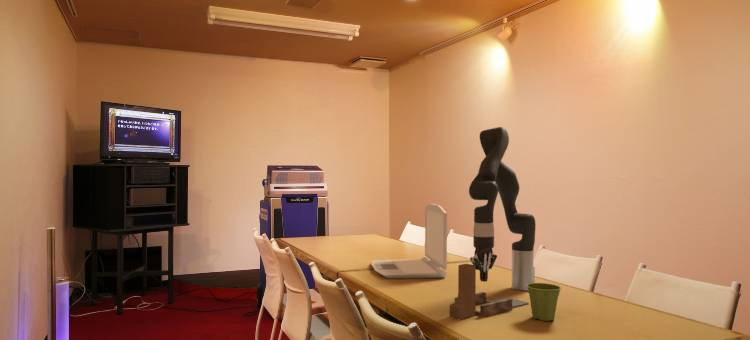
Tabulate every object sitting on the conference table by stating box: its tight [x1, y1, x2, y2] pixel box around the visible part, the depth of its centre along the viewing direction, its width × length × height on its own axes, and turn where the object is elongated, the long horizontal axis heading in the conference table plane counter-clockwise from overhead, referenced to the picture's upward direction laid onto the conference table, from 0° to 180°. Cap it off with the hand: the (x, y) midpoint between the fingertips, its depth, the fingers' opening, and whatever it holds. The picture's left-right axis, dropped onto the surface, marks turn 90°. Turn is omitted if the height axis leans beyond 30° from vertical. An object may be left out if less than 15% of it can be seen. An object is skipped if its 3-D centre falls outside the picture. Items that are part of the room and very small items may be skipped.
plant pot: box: [526, 282, 562, 322], centre depth 174 cm, size 12×12×11 cm
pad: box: [489, 296, 530, 309], centre depth 194 cm, size 10×11×1 cm
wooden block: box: [449, 263, 477, 320], centre depth 175 cm, size 9×4×18 cm, turn 128°
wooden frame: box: [454, 291, 513, 318], centre depth 185 cm, size 16×14×4 cm
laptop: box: [371, 203, 448, 279], centre depth 256 cm, size 42×33×35 cm
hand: (483, 281), depth 185 cm, fingers closed
